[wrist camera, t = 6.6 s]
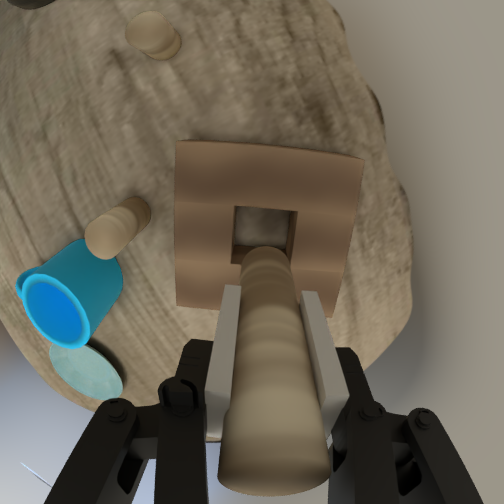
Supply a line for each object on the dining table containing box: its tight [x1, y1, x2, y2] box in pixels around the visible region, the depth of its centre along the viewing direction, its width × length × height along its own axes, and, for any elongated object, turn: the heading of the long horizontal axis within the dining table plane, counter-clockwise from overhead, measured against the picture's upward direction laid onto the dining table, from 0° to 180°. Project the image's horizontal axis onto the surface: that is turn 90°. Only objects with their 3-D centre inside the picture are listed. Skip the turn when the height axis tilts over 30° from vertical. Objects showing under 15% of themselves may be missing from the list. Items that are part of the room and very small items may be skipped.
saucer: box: [49, 343, 123, 400], centre depth 34 cm, size 12×12×2 cm
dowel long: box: [217, 246, 331, 496], centre depth 13 cm, size 3×3×14 cm
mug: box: [15, 239, 123, 349], centre depth 25 cm, size 12×8×8 cm
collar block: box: [174, 140, 365, 318], centre depth 25 cm, size 14×14×4 cm
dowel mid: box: [85, 197, 151, 260], centre depth 23 cm, size 3×3×7 cm
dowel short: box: [125, 11, 182, 60], centre depth 18 cm, size 3×3×5 cm
